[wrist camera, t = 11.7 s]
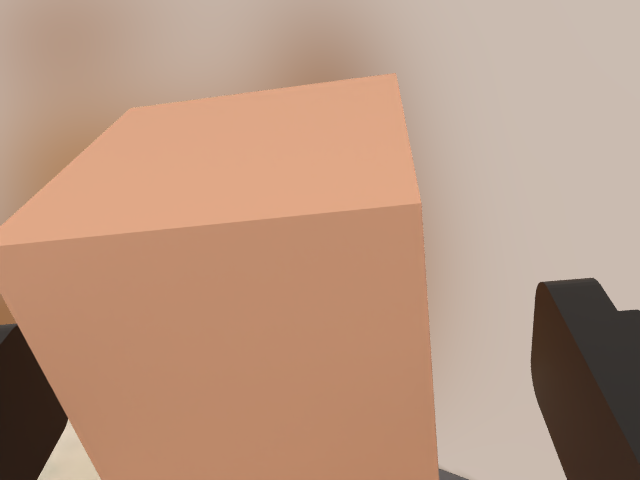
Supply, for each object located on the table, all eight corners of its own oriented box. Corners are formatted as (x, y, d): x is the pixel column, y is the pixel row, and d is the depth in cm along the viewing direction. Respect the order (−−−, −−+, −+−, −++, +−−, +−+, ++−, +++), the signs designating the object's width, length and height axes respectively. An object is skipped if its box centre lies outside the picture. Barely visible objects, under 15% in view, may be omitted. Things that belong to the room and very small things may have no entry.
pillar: (223, 705, 12) (-24, 247, 6) (258, 499, 17) (130, 107, 11) (453, 708, 12) (422, 203, 6) (429, 493, 16) (395, 72, 10)
